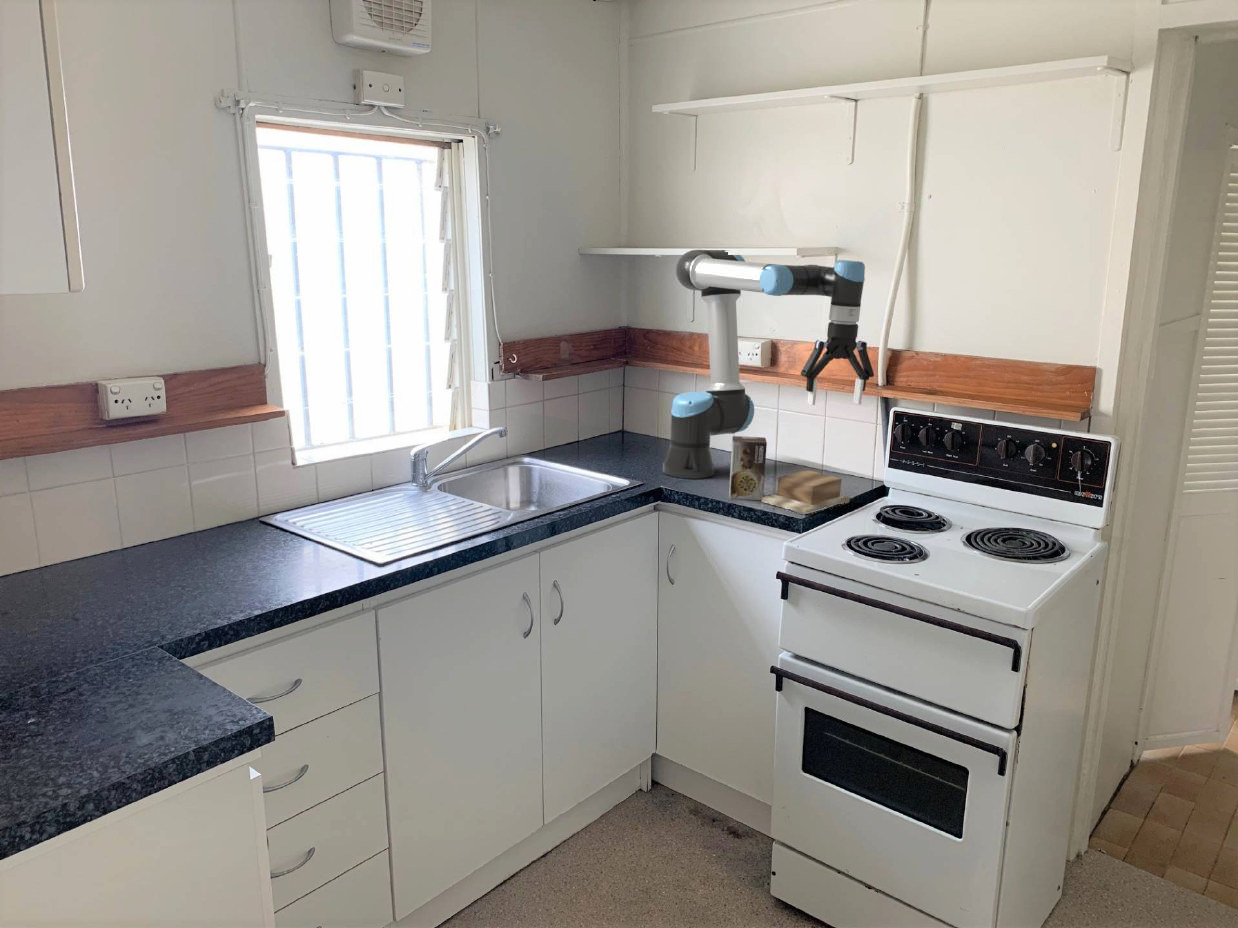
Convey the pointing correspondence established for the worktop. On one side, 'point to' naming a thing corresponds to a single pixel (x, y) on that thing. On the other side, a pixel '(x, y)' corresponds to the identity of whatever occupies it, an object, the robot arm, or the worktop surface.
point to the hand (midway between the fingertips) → (834, 403)
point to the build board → (802, 506)
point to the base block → (809, 487)
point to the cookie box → (747, 468)
